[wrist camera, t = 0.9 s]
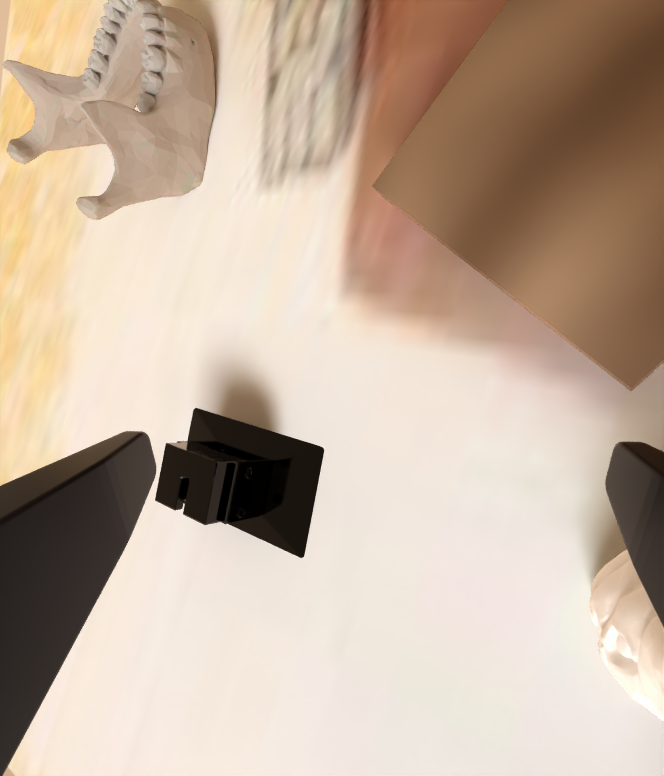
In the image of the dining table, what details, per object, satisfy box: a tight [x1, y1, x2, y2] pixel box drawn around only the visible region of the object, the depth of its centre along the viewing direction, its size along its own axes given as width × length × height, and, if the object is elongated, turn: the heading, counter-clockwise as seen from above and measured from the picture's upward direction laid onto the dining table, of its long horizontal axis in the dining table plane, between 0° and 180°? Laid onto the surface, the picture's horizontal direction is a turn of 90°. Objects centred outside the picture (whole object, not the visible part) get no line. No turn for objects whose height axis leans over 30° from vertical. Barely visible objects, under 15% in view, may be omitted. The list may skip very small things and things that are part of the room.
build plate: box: [155, 408, 324, 558], centre depth 24 cm, size 12×7×5 cm, turn 76°
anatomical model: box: [3, 0, 215, 220], centre depth 29 cm, size 13×11×10 cm
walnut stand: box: [372, 0, 664, 391], centre depth 16 cm, size 12×12×3 cm
